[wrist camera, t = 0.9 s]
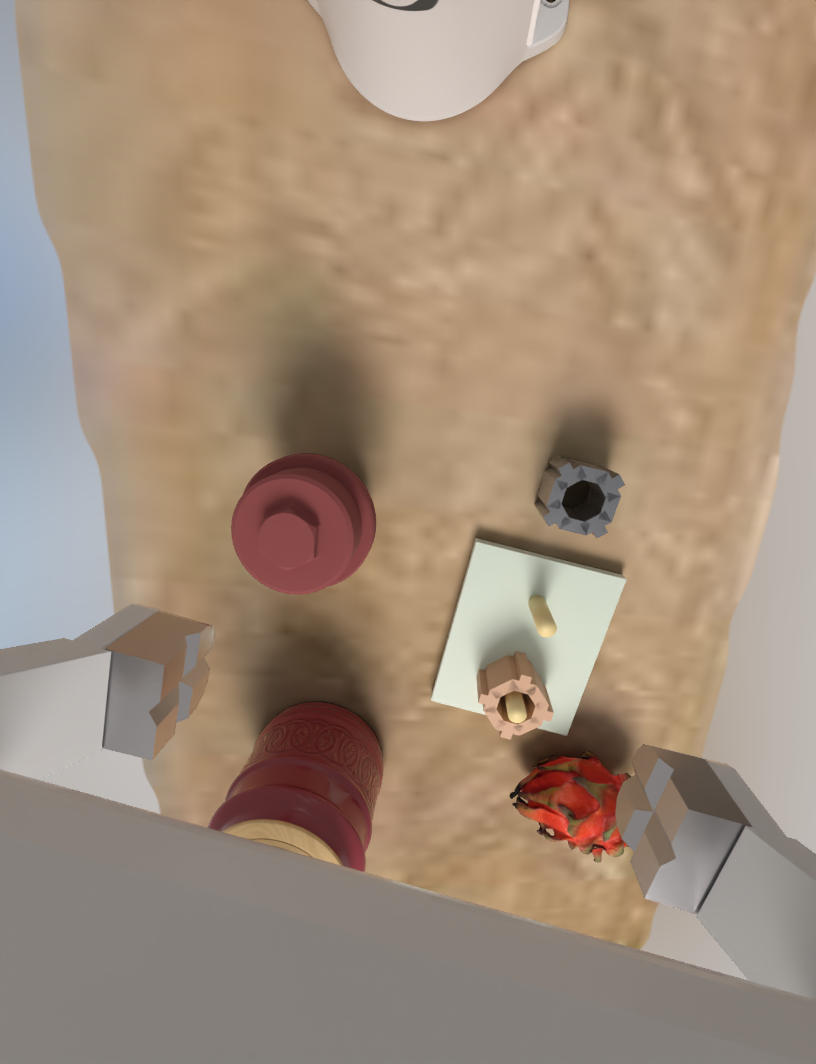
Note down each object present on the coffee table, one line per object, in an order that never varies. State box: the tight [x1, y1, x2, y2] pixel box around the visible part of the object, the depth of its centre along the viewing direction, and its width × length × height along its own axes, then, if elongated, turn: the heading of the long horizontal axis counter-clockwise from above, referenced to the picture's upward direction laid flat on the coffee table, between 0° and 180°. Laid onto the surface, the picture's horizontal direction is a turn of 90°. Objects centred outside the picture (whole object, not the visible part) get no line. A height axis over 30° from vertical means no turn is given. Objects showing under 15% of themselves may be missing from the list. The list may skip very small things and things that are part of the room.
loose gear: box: [535, 456, 625, 538], centre depth 40 cm, size 5×5×4 cm
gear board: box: [431, 538, 626, 740], centre depth 43 cm, size 16×13×6 cm
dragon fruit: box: [510, 751, 631, 862], centre depth 46 cm, size 8×8×12 cm
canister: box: [208, 702, 383, 872], centre depth 43 cm, size 13×13×18 cm
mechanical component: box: [231, 453, 376, 594], centre depth 38 cm, size 12×10×10 cm
